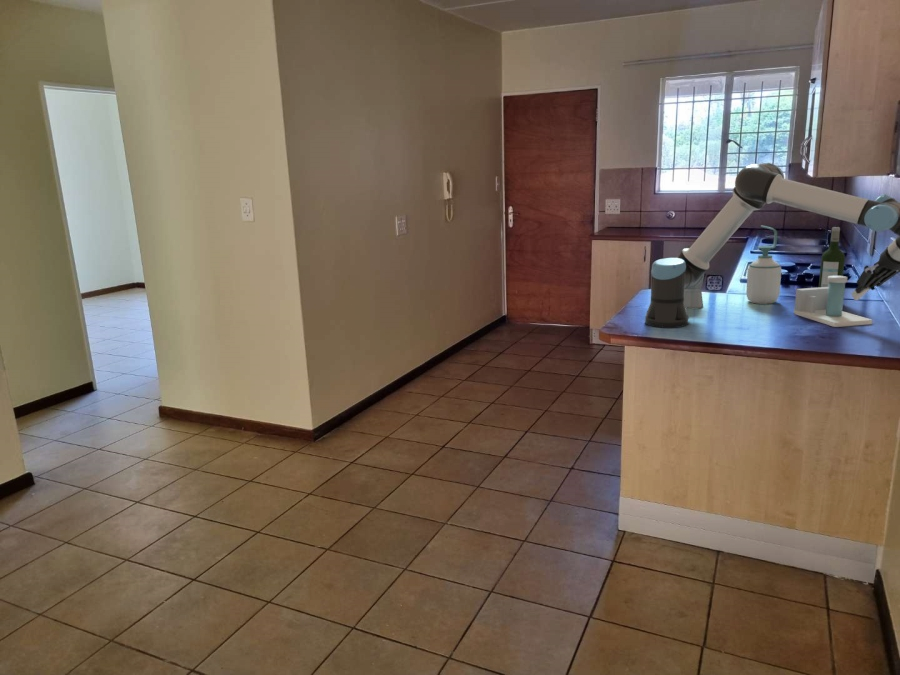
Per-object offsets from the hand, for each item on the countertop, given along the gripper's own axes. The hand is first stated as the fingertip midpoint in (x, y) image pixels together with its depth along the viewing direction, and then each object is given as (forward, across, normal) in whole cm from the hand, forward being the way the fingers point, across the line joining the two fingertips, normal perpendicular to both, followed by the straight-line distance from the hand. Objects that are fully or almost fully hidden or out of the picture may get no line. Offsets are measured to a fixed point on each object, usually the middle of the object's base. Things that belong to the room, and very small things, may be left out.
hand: (854, 296), depth 223 cm
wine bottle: (+30, +16, +16) cm, 38 cm away
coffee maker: (+39, -35, +26) cm, 58 cm away
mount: (+13, 0, -1) cm, 13 cm away
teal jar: (+12, 0, +1) cm, 12 cm away
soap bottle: (+37, -6, +24) cm, 45 cm away
